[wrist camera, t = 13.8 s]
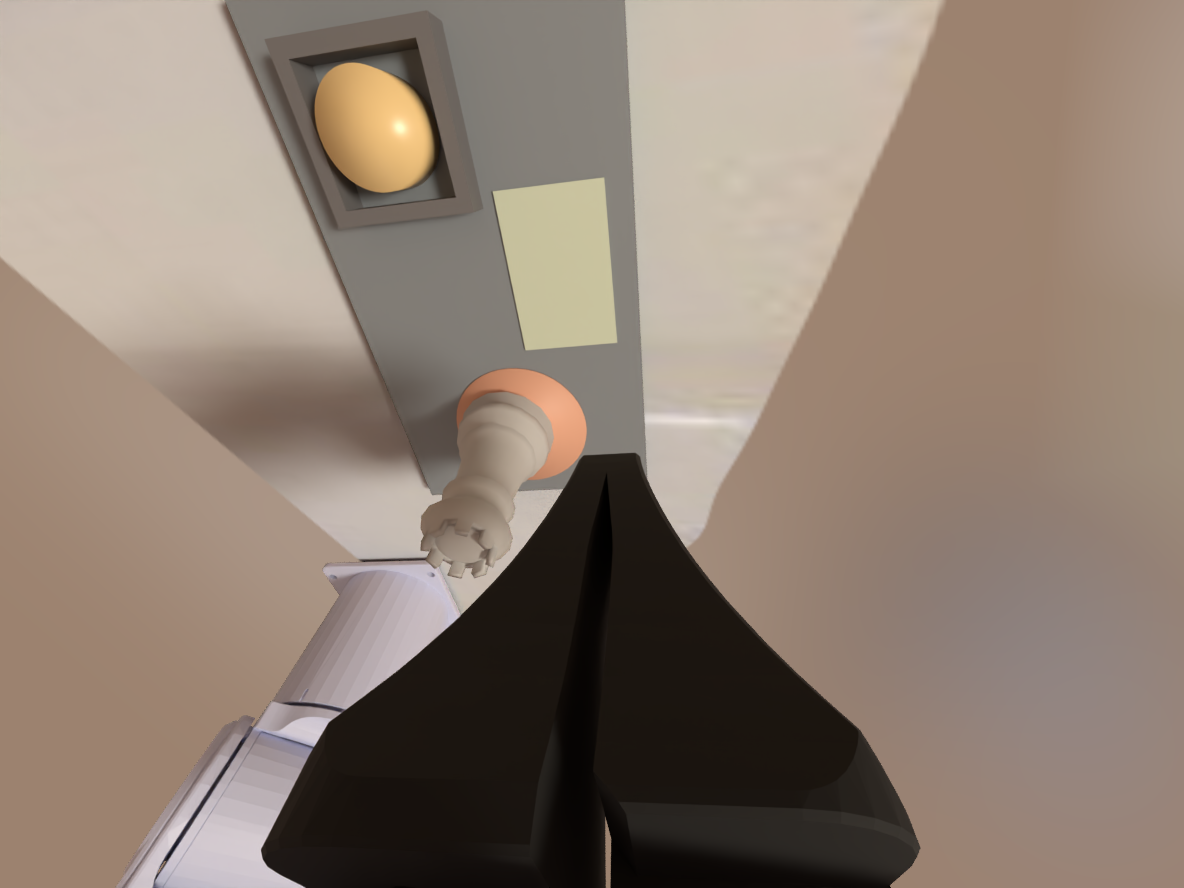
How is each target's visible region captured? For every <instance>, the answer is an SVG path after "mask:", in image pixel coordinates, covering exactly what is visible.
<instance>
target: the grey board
mask: <svg viewBox="0 0 1184 888" xmlns="http://www.w3.org/2000/svg"><path fill="white" fill-rule="evenodd" d="M225 2H226V5H227V7H228V10H229V12H230V14H231V17H232V19H233V21H234V24H235V26H236V29H237V31H238V33H239V36H240V38H241V41H242V43H243V45H244V48H245V50H246V52H247V55H248V57H249V60H250V62H251V64H252V67H253V69H254V72H255V74H256V76H257V79H258V81H259V83H260V86H261V88H262V91H263V93H264V95H265V98H266V100H267V103H268V105H269V107H270V110H271V112H272V114H273V117H274V119H275V122H276V124H277V126H278V129H279V131H280V134H281V136H282V138H283V141H284V143H285V145H286V148H287V150H288V153H289V155H290V157H291V160H292V162H293V165H294V167H295V169H296V172H297V174H298V177H299V179H300V181H301V184H302V186H303V188H304V191H305V193H306V196H307V198H308V200H309V203H310V205H311V208H312V210H313V212H314V215H315V217H316V219H317V222H318V224H319V227H320V229H321V231H322V234H323V236H324V239H325V241H326V243H327V246H328V248H329V250H330V253H331V255H332V258H333V260H334V262H335V265H336V267H337V270H338V272H339V274H340V277H341V279H342V281H343V284H344V286H345V289H346V291H347V293H348V296H349V298H350V301H351V303H352V305H353V308H354V310H355V312H356V315H357V317H358V320H359V322H360V324H361V327H362V329H363V332H364V334H365V336H366V339H367V341H368V344H369V346H370V348H371V351H372V353H373V355H374V358H375V360H376V363H377V365H378V367H379V370H380V372H381V375H382V377H383V379H384V382H385V384H386V386H387V389H388V391H389V394H390V396H391V398H392V401H393V403H394V406H395V408H396V410H397V413H398V415H399V417H400V420H401V422H402V425H403V427H404V429H405V432H406V434H407V437H408V439H409V441H410V444H411V446H412V448H413V451H414V453H415V456H416V458H417V460H418V463H419V465H420V468H421V470H422V472H423V475H424V477H425V479H426V482H427V484H428V487H429V489H430V491H431V494H432V495H442V494H443V489H444V488H445V487H446V486H447V484H448V483H449V482H450V481H452V480H454V479H455V478H456V476H457V473H458V470H459V466H460V463H461V458H460V455H459V448H458V445H457V437H458V429H459V423H460V422H461V421H462V419H463V414H464V412H465V411H466V409H467V408H468V407H469V405H470V404H471V403H472V401H474V400H476V399H477V398H479V397H481V396H483V395H485V394H487V393H497V392H509V393H513V394H516V395H520V396H523V397H526V398H527V399H529V400H530V401H532V402H533V403H535V404H536V405H537V406H539V407H540V408H541V409H542V410H543V412H544V413H545V414H546V416H547V417H548V419H549V420H550V422H551V425H552V430H553V435H554V440H553V443H552V447H551V450H550V452H549V454H548V457H547V461H546V463H545V464H544V465H543V466H542V467H541V468H540V469H539V471H538V472H537V473H536V474H535V475H534V476H532V477H530V478H528V479H527V480H526V482H523V483H522V484H521V486H520V487H519V489H518V491H530V490H552V489H564V487H565V486H566V484H567V482H568V481H569V479H570V477H571V475H572V473H573V471H574V469H575V468H576V466H577V464H578V461H579V459H580V458H581V457H582V456H583V455H599V454H618V453H637V454H638V455H639V456H640V458H641V463H642V467H643V470H644V473H645V475H646V478H647V465H646V443H645V422H644V401H643V379H642V358H641V336H640V315H639V294H638V272H637V251H636V230H635V208H634V187H633V166H632V144H631V123H630V102H629V80H628V59H627V37H626V16H625V0H225ZM345 63H361V64H365V65H368V66H371V67H374V68H377V69H380V70H383V71H385V72H388V73H391V74H394V75H396V76H398V77H400V78H402V79H404V80H405V81H407V82H408V83H409V84H411V85H412V86H413V87H414V88H415V89H416V90H417V91H418V92H419V93H420V95H421V96H422V97H423V98H424V100H425V101H426V103H427V104H428V106H429V108H430V110H431V112H432V114H433V117H434V119H435V122H436V126H437V129H438V134H439V157H438V161H437V164H436V167H435V169H434V171H433V173H432V175H431V176H430V177H429V178H428V179H427V180H426V181H425V182H424V183H423V184H421V185H419V186H417V187H415V188H411V189H406V190H400V191H393V192H385V193H381V192H374V191H370V190H367V189H365V188H362V187H360V186H359V185H357V184H355V183H354V182H352V181H351V180H349V179H348V178H347V177H346V176H345V175H344V174H343V173H342V172H341V171H340V170H339V169H338V168H337V167H336V165H335V164H334V163H333V162H332V160H331V159H330V157H329V156H328V154H327V152H326V150H325V148H324V146H323V144H322V142H321V139H320V136H319V133H318V130H317V125H316V120H315V98H316V94H317V90H318V87H319V85H320V82H321V81H322V79H323V78H324V76H325V75H326V74H327V73H328V72H329V71H330V70H331V69H333V68H334V67H336V66H338V65H341V64H345Z"/></svg>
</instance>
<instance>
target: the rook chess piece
mask: <svg viewBox="0 0 1184 888" xmlns="http://www.w3.org/2000/svg"><path fill="white" fill-rule="evenodd" d="M553 440H554V435H553V430H552V425H551V422H550V420H549V419H548V417H547V416H546V414H545V413H544V412H543V410H542V409H541V408H540V407H539V406H537V405H536V404H535V403H533V402H532V401H530V400H529V399H527V398H526V397H523V396H520V395H516V394H513V393H509V392H497V393H487V394H485V395H483V396H481V397H479V398H477V399H476V400H474V401H472V403H471V404H470V405H469V407H468V408H467V409H466V411H465V412H464V414H463V419H462V421H461V422H460V423H459V429H458V437H457V445H458V448H459V455H460V458H461V463H460V466H459V470H458V473H457V476H456V478H455V479H454V480H452V481H450V482H449V483H448V484H447V486H446V487H445V488H444V489H443V494H442V501H439V502H437V503H435V504H432V505H430V506H429V507H428V508H427V510H426V511H425V512H424V513H423V515H422V516H421V531H422V533H423V535H424V537H423V539H422V540H421V550H420V551H430V552H429V554H428V556H427V558H426V560H425V561H426V562H428V563H429V564H430V565H431V566H432V567H433V568H434V569H436V568H437V567H439V566H440V565H441V562H442V560H443V561H445V562H447V563H449V564H451V568H450V570H449V573H448V576H452V577H456V578H462V575H463V573H464V570H465V568H473V569H472V572H471V574H472V575H473V577H474V578H477V577H480V576H483V575H486V573H487V569H488V566H490V567H493V566H494V563H495V561H496V560H498V559H501V558H502V557H503V556H504V555H505V554H506V553H507V552H508V551H509V550H510V547H511V543H512V539H513V537H512V534H511V531H510V527H509V525H508V522H509V521H510V520H511V519H512V518H513V515H514V511H515V505H514V502H513V498H514V497H515V495H516V493H517V491H518V489H519V487H520V486H521V484H522V483H523V482H526V480H527V479H528V478H530V477H532V476H534V475H535V474H536V473H537V472H538V471H539V469H540V468H541V467H542V466H543V465H544V464H545V463H546V461H547V457H548V454H549V452H550V450H551V447H552V443H553Z"/></svg>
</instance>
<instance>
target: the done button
mask: <svg viewBox="0 0 1184 888" xmlns="http://www.w3.org/2000/svg"><path fill="white" fill-rule="evenodd" d="M315 120H316V125H317V130H318V133H319V136H320V139H321V142H322V144H323V146H324V148H325V150H326V152H327V154H328V156H329V157H330V159H331V160H332V162H333V163H334V164H335V165H336V167H337V168H338V169H339V170H340V171H341V172H342V173H343V174H344V175H345V176H346V177H347V178H348V179H349V180H351V181H352V182H354V183H355V184H357V185H359V186H360V187H362V188H365V189H367V190H370V191H374V192H381V193H385V192H393V191H400V190H406V189H411V188H415V187H417V186H419V185H421V184H423V183H424V182H425V181H426V180H427V179H428V178H429V177H430V176H431V175H432V173H433V171H434V169H435V167H436V164H437V161H438V157H439V134H438V129H437V126H436V122H435V119H434V117H433V114H432V112H431V110H430V108H429V106H428V104H427V103H426V101H425V100H424V98H423V97H422V96H421V95H420V93H419V92H418V91H417V90H416V89H415V88H414V87H413V86H412V85H411V84H409V83H408V82H407V81H405V80H404V79H402V78H400V77H398V76H396V75H394V74H391V73H388V72H385V71H383V70H380V69H377V68H374V67H371V66H368V65H365V64H361V63H345V64H341V65H338V66H336V67H334V68H333V69H331V70H330V71H329V72H328V73H327V74H326V75H325V76H324V78H323V79H322V81H321V82H320V85H319V87H318V90H317V94H316V98H315Z"/></svg>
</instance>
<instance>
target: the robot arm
mask: <svg viewBox="0 0 1184 888" xmlns="http://www.w3.org/2000/svg"><path fill="white" fill-rule="evenodd" d="M323 572H324V574H325V575H326V577H327V578H328V579H329V581H330V582H331V584H332V585H333V586H334V588H335V589H336V591H337V592H338V594H339V595H340V596H339V597H338V599H337V601H336V602H335V604H334V605H333V607H332V608H331V610H330V611H329V613H328V615H327V616H326V618H325V619H324V621H323V622H322V624H321V625H320V627H319V629H318V630H317V632H316V633H315V635H314V636H313V638H312V640H311V641H310V643H309V644H308V646H307V647H306V649H305V650H304V652H303V654H302V655H301V657H300V658H299V660H298V661H297V663H296V664H295V666H294V668H293V669H292V671H291V673H290V674H289V675H288V677H287V678H286V680H285V682H284V683H283V685H282V686H281V688H280V690H279V691H278V693H277V694H276V696H275V697H274V699H273V700H272V701H271V702H270V703H269V704H268V706H267V707H266V709H265V710H264V712H263V713H262V715H261V716H260V717H259V719H258V720H257V722H256V723H255V725H254V726H253V727H252V726H250V725H251V724H252V722H253V721H254V719H255V718H253V717H250V716H247V715H244V716H242V717H241V718H240V719H239V720H238V721H233V722H231V723H229V724H227V725H225V726H224V727H223V728H222V729H221V730H220V732H219V733H218V734H217V736H216V737H215V738H214V740H213V741H212V742H211V744H210V745H209V747H208V748H207V750H206V751H205V752H204V754H203V755H202V757H201V758H200V759H199V761H198V762H197V764H196V765H195V766H194V768H193V769H192V771H191V772H190V774H189V775H188V776H187V778H186V779H185V781H184V782H183V783H182V785H181V786H180V788H179V789H178V791H177V792H176V794H175V795H174V796H173V798H172V799H171V801H170V802H169V804H168V805H167V807H166V808H165V810H164V811H163V812H162V814H161V816H160V817H159V818H158V820H157V821H156V823H155V824H154V826H153V827H152V829H151V830H150V832H149V833H148V835H147V836H146V837H145V839H144V841H143V842H142V843H141V845H140V846H139V848H138V849H137V851H136V852H135V854H134V855H133V857H132V859H131V860H130V862H129V863H128V865H127V866H126V868H125V870H124V876H123V878H122V879H121V880H120V882H119V883H118V885H117V886H116V888H606V886H605V885H606V879H605V878H606V876H605V874H606V873H605V817H606V820H607V824H608V827H609V831H610V835H611V888H891V887H890V885H891V884H892V883H893V882H894V881H895V880H896V879H897V878H899V877H900V876H901V875H902V874H903V873H904V872H905V871H907V870H908V869H909V868H910V867H911V866H912V864H913V863H914V861H915V859H916V857H917V855H918V853H919V850H920V846H919V843H918V840H917V838H916V835H915V833H914V830H913V827H912V824H911V822H910V819H909V817H908V815H907V812H906V810H905V808H904V806H903V804H902V802H901V800H900V798H899V796H898V794H897V793H896V791H895V789H894V787H893V785H892V784H891V782H890V780H889V778H888V776H887V775H886V773H885V771H884V769H883V767H882V765H881V763H880V762H879V760H878V758H877V757H876V755H875V754H874V752H873V750H872V749H871V747H870V745H869V744H868V742H867V740H866V739H865V737H864V736H863V734H862V732H861V731H860V730H859V729H858V728H857V727H856V726H855V725H854V724H853V723H852V722H850V721H849V720H848V719H847V718H846V717H845V716H843V715H842V714H841V713H840V712H839V711H838V710H837V709H836V708H835V707H833V706H832V705H831V704H830V703H829V702H828V701H827V700H826V699H824V698H823V697H822V696H821V695H820V694H819V693H818V692H817V691H816V690H814V688H812V687H811V686H810V685H809V684H808V683H807V682H806V681H805V680H804V679H803V678H801V676H799V675H798V674H797V673H796V672H795V671H794V670H793V669H792V668H791V667H790V666H789V665H788V664H787V663H786V662H785V661H784V660H783V659H782V658H781V657H780V656H779V655H778V654H777V653H776V652H775V651H774V650H773V649H772V648H771V647H770V646H768V645H767V643H766V642H765V641H764V640H763V639H762V638H761V637H760V636H759V635H758V634H757V633H756V632H755V630H754V629H753V628H752V627H751V626H750V625H749V624H748V623H747V622H746V621H745V620H744V619H743V617H741V615H740V614H739V613H738V612H737V611H736V610H735V609H734V608H733V607H732V606H731V605H730V603H729V602H728V601H727V600H726V599H725V598H724V596H723V595H722V594H721V593H720V592H719V590H718V589H717V588H716V587H715V586H714V584H713V583H712V582H711V581H710V580H709V578H708V577H707V576H706V574H705V573H704V572H703V571H702V569H701V568H700V567H699V565H698V564H697V563H696V562H695V560H694V559H693V557H692V556H691V554H690V553H689V552H688V550H687V549H686V547H685V546H684V544H683V543H682V541H681V540H680V538H679V537H678V535H677V534H676V532H675V530H674V529H673V527H672V526H671V524H670V522H669V521H668V519H667V517H666V516H665V514H664V512H663V510H662V508H661V507H660V505H659V503H658V501H657V499H656V497H655V495H654V493H653V491H652V489H651V487H650V485H649V482H648V480H647V478H646V475H645V473H644V470H643V467H642V463H641V458H640V456H639V455H638V454H637V453H618V454H599V455H583V456H582V457H581V458H580V459H579V461H578V464H577V466H576V468H575V469H574V471H573V473H572V475H571V477H570V479H569V481H568V482H567V484H566V486H565V487H564V489H563V491H562V492H561V494H560V496H559V497H558V499H557V500H556V502H555V503H554V505H553V506H552V508H551V510H550V511H549V513H548V514H547V516H546V517H545V519H544V520H543V521H542V523H541V524H540V526H539V527H538V528H537V530H536V531H535V532H534V534H533V535H532V536H531V538H530V539H529V540H528V542H527V543H526V545H525V546H524V547H523V548H522V550H521V551H520V552H519V553H518V555H517V556H516V557H515V558H514V559H513V561H512V562H511V563H510V564H509V565H508V566H507V568H506V569H505V570H504V571H503V572H502V573H501V574H500V575H499V577H498V578H497V579H496V580H495V581H494V582H493V583H492V584H491V585H490V586H489V587H488V588H487V589H486V590H485V591H484V593H483V594H482V595H481V596H480V597H479V598H478V599H477V600H476V601H475V602H474V603H473V604H472V605H471V606H470V607H469V608H468V609H467V610H466V611H465V612H464V613H463V614H462V615H460V612H459V610H458V608H457V606H456V604H455V602H454V599H453V597H452V595H451V593H450V591H449V589H448V587H447V584H446V582H445V580H444V578H443V576H442V574H441V572H440V569H439V567H437V568H436V569H434V568H433V567H432V566H431V565H430V564H429V563H428V562H426V561H425V560H420V561H384V562H349V563H328V564H326V565H325V566H324V568H323ZM164 861H166V862H165V864H164V865H163V867H162V869H161V870H160V872H159V873H158V870H159V869H160V867H161V865H162V864H163V862H164ZM157 874H158V875H157Z"/></svg>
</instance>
